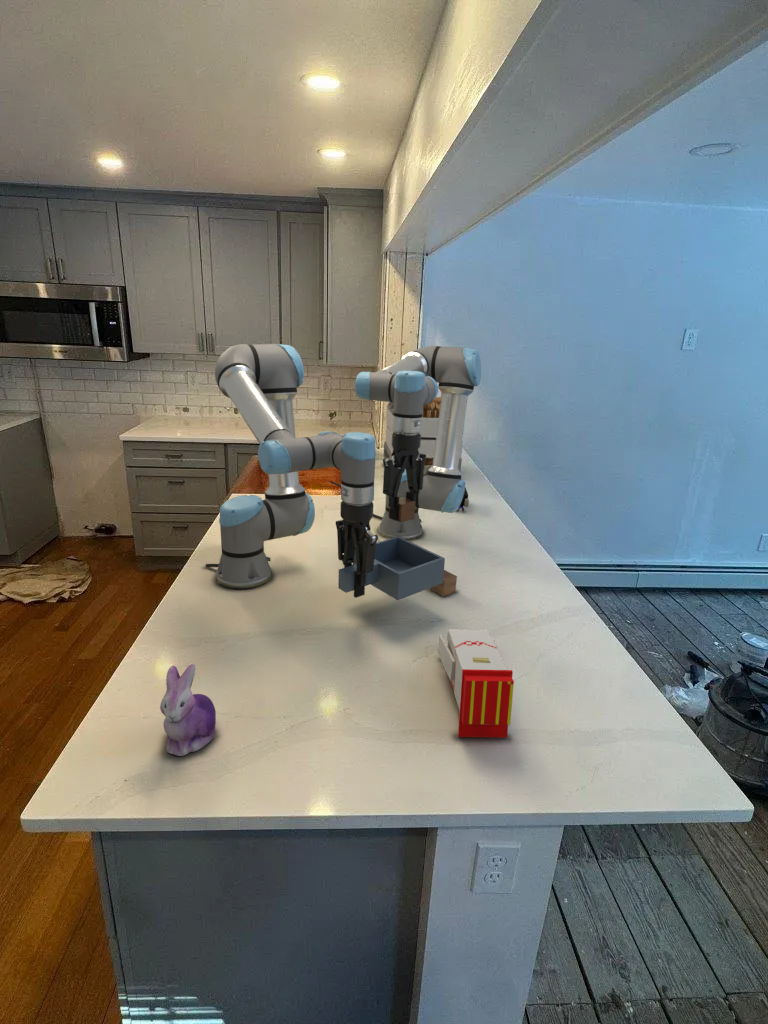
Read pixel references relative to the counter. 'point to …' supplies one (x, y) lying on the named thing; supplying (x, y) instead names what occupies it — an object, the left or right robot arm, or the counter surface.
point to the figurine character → (464, 500)
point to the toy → (478, 682)
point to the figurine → (186, 714)
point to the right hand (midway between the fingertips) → (401, 517)
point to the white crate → (427, 432)
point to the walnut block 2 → (446, 584)
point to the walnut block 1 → (405, 510)
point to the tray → (398, 569)
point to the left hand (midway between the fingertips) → (354, 592)
